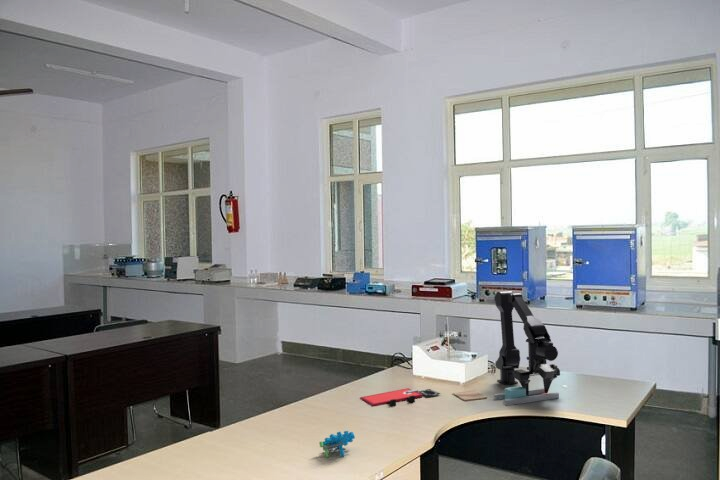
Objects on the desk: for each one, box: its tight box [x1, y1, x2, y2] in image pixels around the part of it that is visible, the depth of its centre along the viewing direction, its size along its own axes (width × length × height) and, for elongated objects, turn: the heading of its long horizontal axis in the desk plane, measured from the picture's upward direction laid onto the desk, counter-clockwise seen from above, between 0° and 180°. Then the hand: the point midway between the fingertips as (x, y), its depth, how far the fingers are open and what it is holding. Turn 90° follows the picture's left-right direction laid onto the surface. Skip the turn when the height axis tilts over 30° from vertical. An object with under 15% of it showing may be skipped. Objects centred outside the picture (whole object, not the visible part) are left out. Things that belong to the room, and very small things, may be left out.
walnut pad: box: [452, 389, 488, 402], centre depth 220 cm, size 10×10×1 cm
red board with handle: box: [359, 388, 441, 407], centre depth 220 cm, size 30×3×15 cm
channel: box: [493, 387, 560, 406], centre depth 215 cm, size 8×24×2 cm, turn 109°
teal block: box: [504, 385, 527, 401], centre depth 214 cm, size 4×7×4 cm, turn 111°
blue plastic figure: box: [319, 430, 356, 458], centre depth 166 cm, size 11×6×10 cm
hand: (536, 394), depth 217 cm, fingers open, 9 cm apart
